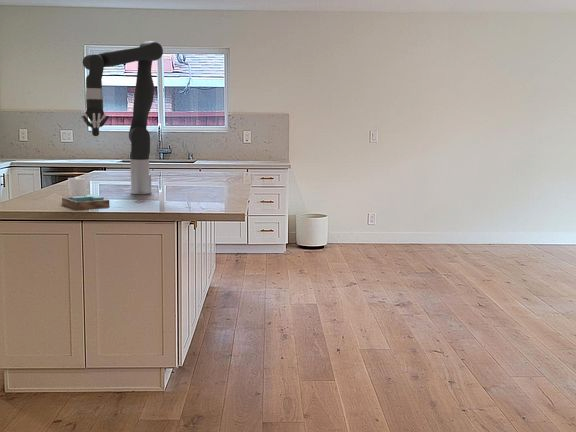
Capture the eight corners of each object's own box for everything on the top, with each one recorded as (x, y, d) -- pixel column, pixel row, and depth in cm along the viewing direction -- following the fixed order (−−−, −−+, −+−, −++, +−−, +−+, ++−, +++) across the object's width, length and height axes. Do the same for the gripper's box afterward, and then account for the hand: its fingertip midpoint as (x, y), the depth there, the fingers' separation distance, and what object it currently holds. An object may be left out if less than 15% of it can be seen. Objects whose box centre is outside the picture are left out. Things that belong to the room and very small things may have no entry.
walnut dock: (93, 202, 277) (93, 195, 276) (109, 206, 264) (109, 200, 263) (62, 204, 268) (61, 197, 268) (76, 209, 255) (76, 202, 254)
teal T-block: (93, 203, 274) (92, 194, 273) (103, 206, 265) (103, 197, 264) (68, 205, 267) (68, 195, 266) (78, 208, 258) (78, 199, 257)
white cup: (90, 199, 285) (89, 178, 283) (79, 201, 278) (78, 179, 276) (76, 198, 288) (75, 177, 286) (64, 200, 280) (64, 178, 279)
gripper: (104, 99, 292) (105, 135, 295) (77, 98, 284) (78, 135, 287) (111, 98, 286) (112, 136, 289) (83, 98, 278) (84, 136, 281)
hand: (95, 136), depth 288 cm, fingers closed
